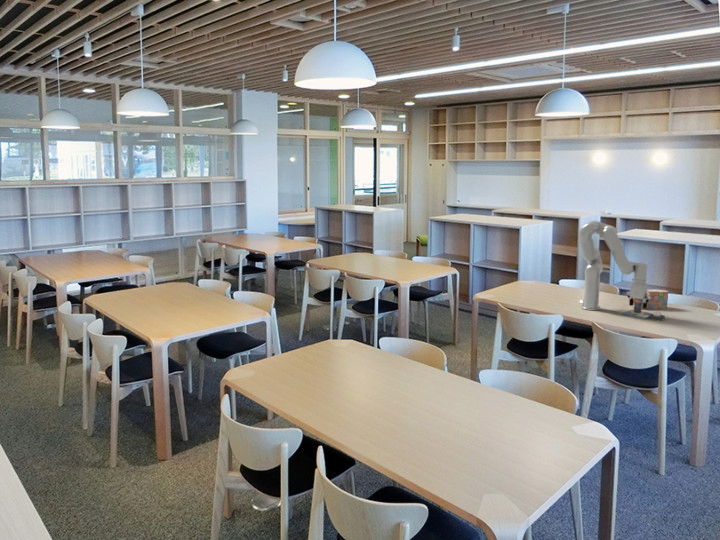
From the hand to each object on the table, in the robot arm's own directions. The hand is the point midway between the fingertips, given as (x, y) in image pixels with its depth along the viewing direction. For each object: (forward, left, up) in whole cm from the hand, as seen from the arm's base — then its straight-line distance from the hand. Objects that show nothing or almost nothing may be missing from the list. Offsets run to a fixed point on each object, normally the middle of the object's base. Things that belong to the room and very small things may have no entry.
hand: (637, 306), depth 393 cm
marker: (0, 0, -4) cm, 4 cm away
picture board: (+2, -2, -5) cm, 6 cm away
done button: (+15, -2, -3) cm, 15 cm away
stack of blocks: (-5, +21, -5) cm, 22 cm away
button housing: (+15, -2, -5) cm, 16 cm away
